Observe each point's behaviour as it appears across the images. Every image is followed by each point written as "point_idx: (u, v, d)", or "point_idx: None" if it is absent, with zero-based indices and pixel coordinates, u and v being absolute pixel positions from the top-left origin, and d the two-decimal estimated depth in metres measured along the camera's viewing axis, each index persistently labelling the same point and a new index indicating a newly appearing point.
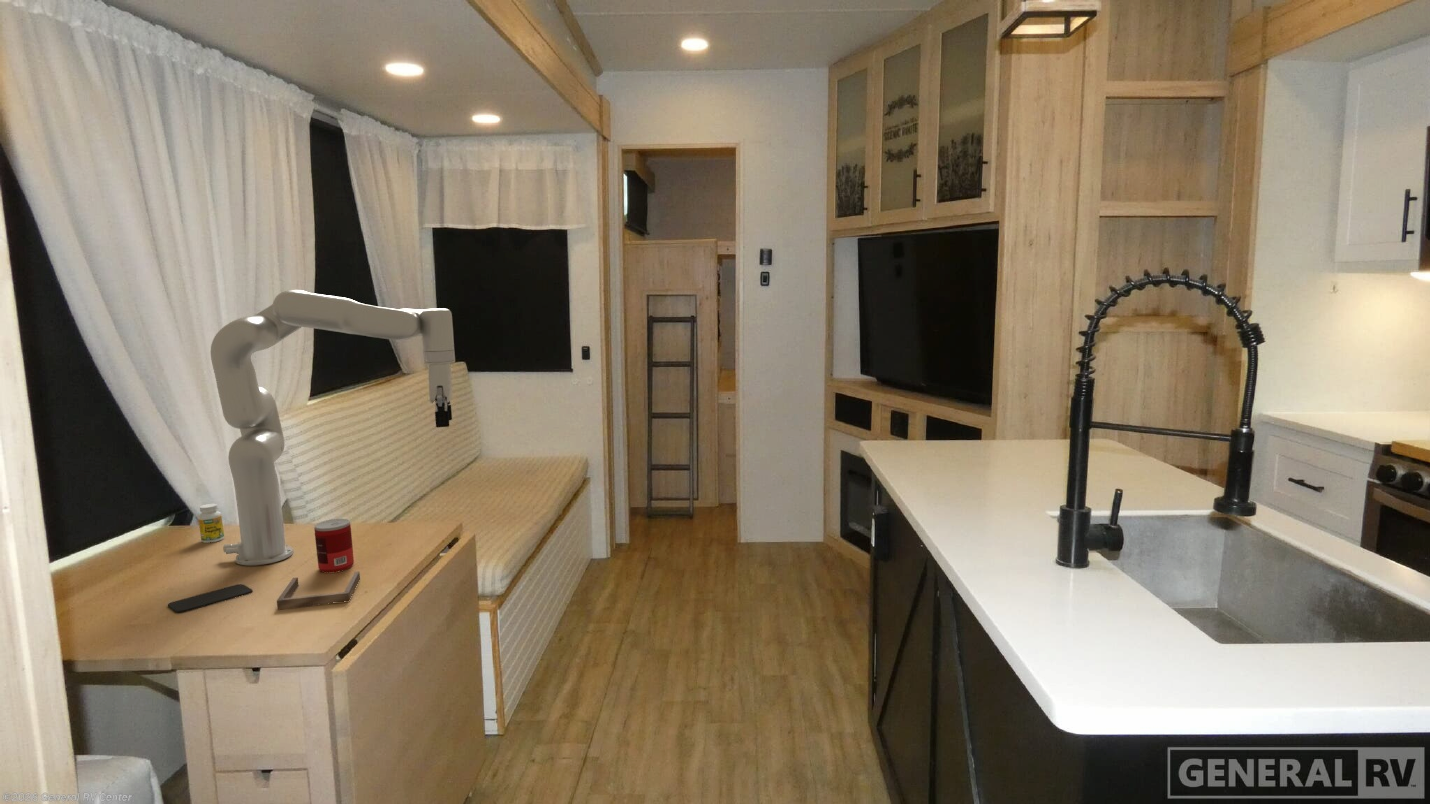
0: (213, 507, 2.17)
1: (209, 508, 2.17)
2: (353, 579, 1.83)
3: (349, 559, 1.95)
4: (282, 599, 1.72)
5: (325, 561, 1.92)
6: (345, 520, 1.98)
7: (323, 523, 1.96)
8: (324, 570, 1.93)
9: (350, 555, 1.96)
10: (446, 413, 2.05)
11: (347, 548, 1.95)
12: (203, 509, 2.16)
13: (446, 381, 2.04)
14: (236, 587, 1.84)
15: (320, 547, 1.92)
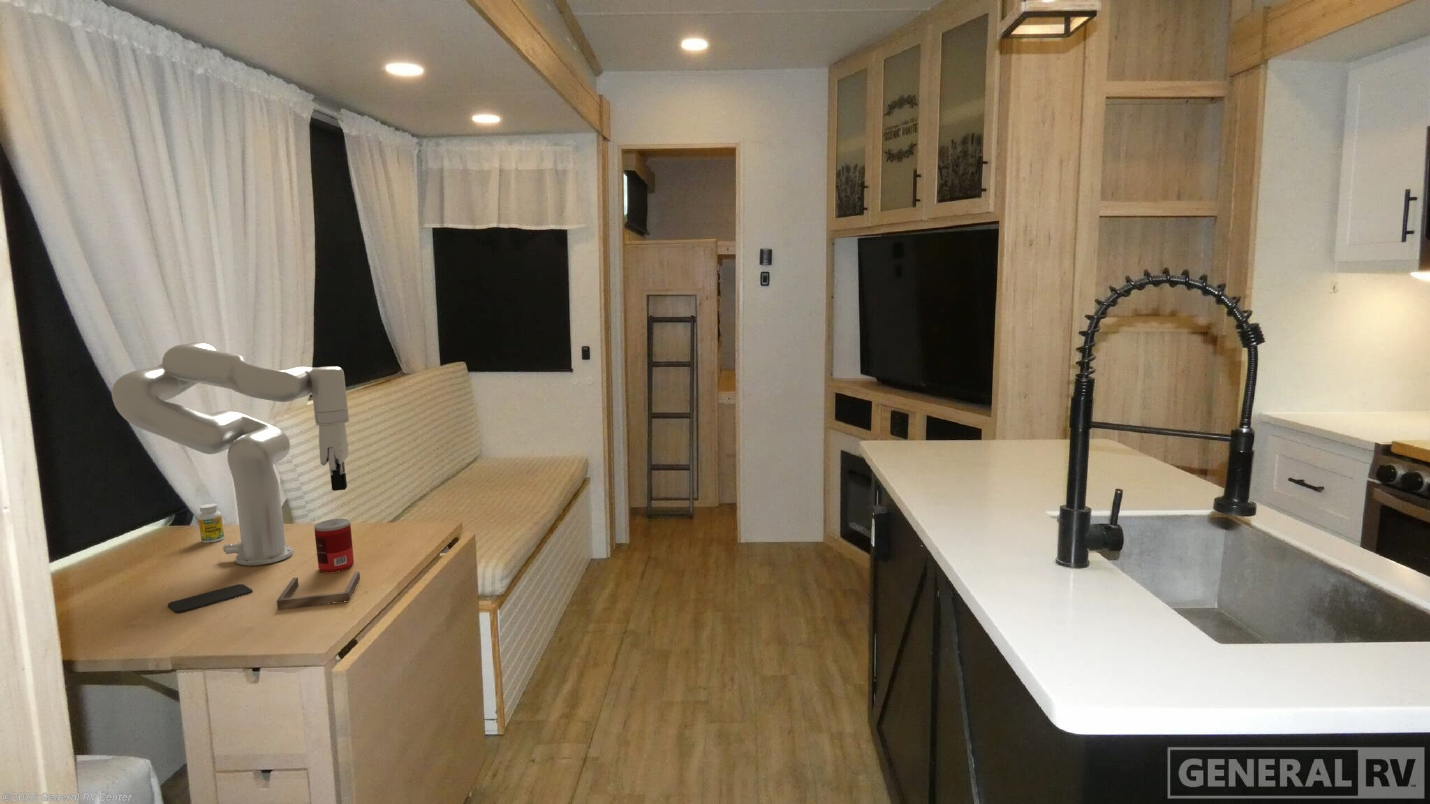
0: (213, 507, 2.17)
1: (209, 508, 2.17)
2: (353, 579, 1.83)
3: (349, 559, 1.95)
4: (282, 599, 1.72)
5: (325, 560, 1.92)
6: (345, 520, 1.98)
7: (323, 523, 1.96)
8: (324, 570, 1.93)
9: (350, 555, 1.96)
10: (342, 476, 2.03)
11: (347, 548, 1.95)
12: (203, 509, 2.16)
13: (337, 442, 1.98)
14: (236, 587, 1.84)
15: (320, 547, 1.92)
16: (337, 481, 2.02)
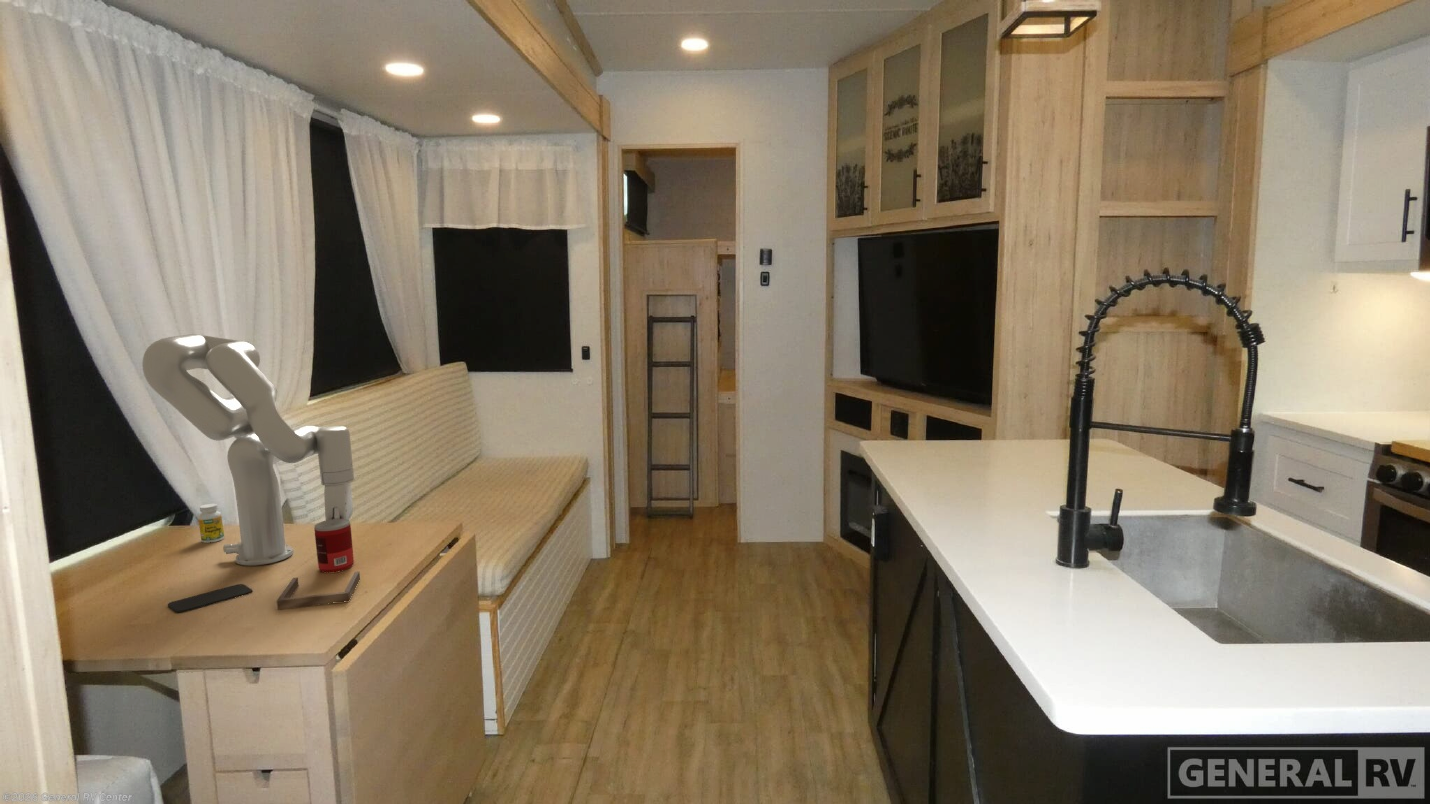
0: (213, 507, 2.17)
1: (209, 508, 2.17)
2: (353, 579, 1.83)
3: (349, 559, 1.95)
4: (282, 599, 1.72)
5: (325, 561, 1.92)
6: (345, 520, 1.98)
7: (323, 523, 1.96)
8: (324, 570, 1.93)
9: (350, 555, 1.96)
10: None
11: (347, 548, 1.95)
12: (203, 509, 2.16)
13: (342, 502, 2.00)
14: (236, 587, 1.84)
15: (320, 547, 1.92)
16: None
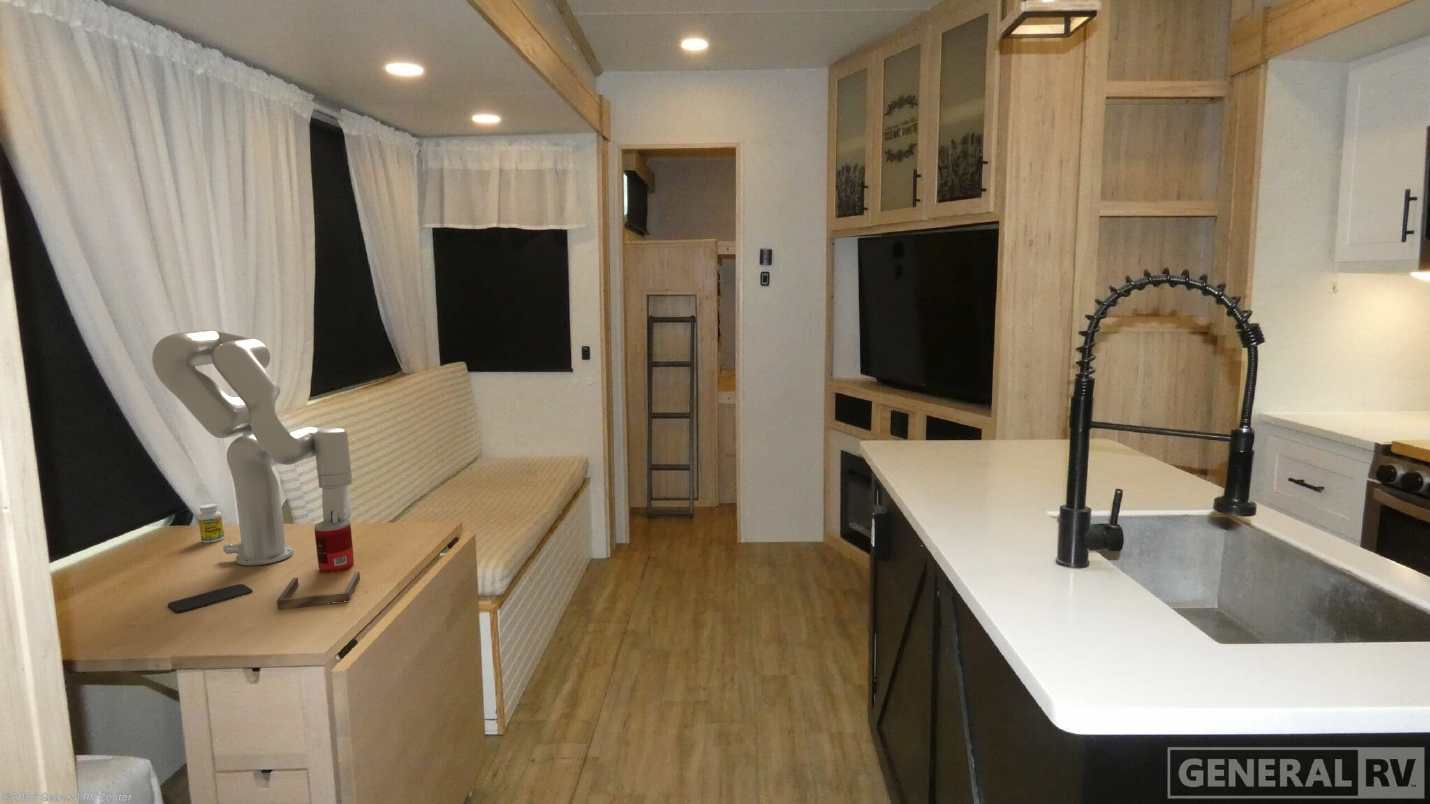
0: (213, 507, 2.17)
1: (209, 508, 2.17)
2: (353, 579, 1.83)
3: (349, 559, 1.95)
4: (282, 599, 1.72)
5: (325, 561, 1.92)
6: (345, 520, 1.97)
7: (323, 523, 1.96)
8: (324, 570, 1.93)
9: (350, 555, 1.96)
10: None
11: (347, 548, 1.95)
12: (203, 509, 2.16)
13: (341, 505, 1.97)
14: (236, 587, 1.84)
15: (320, 547, 1.92)
16: None
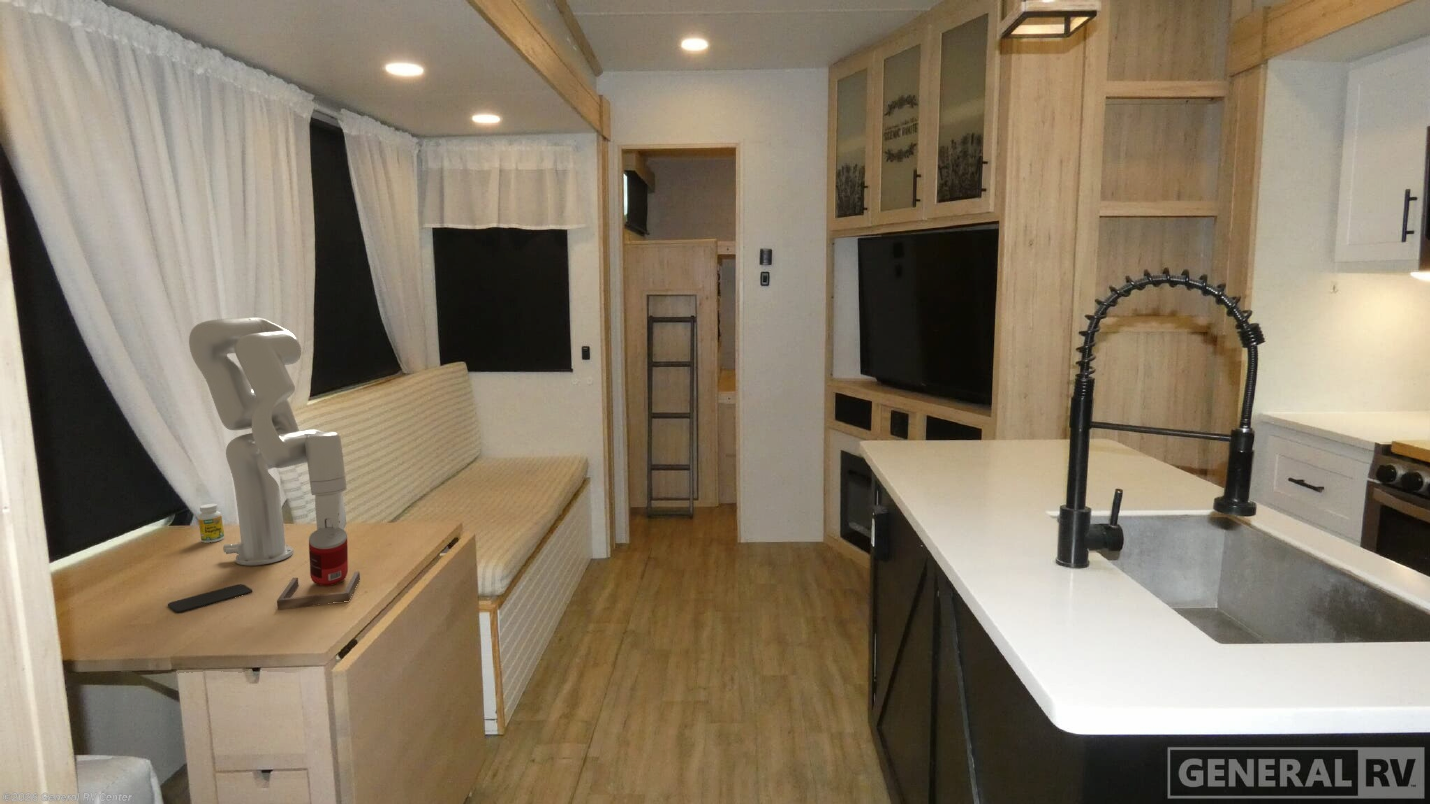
0: (213, 507, 2.17)
1: (209, 508, 2.17)
2: (353, 579, 1.83)
3: (344, 572, 1.86)
4: (282, 599, 1.72)
5: (319, 575, 1.83)
6: (341, 531, 1.86)
7: (318, 533, 1.84)
8: (317, 583, 1.84)
9: (345, 568, 1.86)
10: None
11: (342, 562, 1.85)
12: (203, 509, 2.16)
13: (335, 513, 1.86)
14: (236, 587, 1.84)
15: (314, 561, 1.82)
16: None
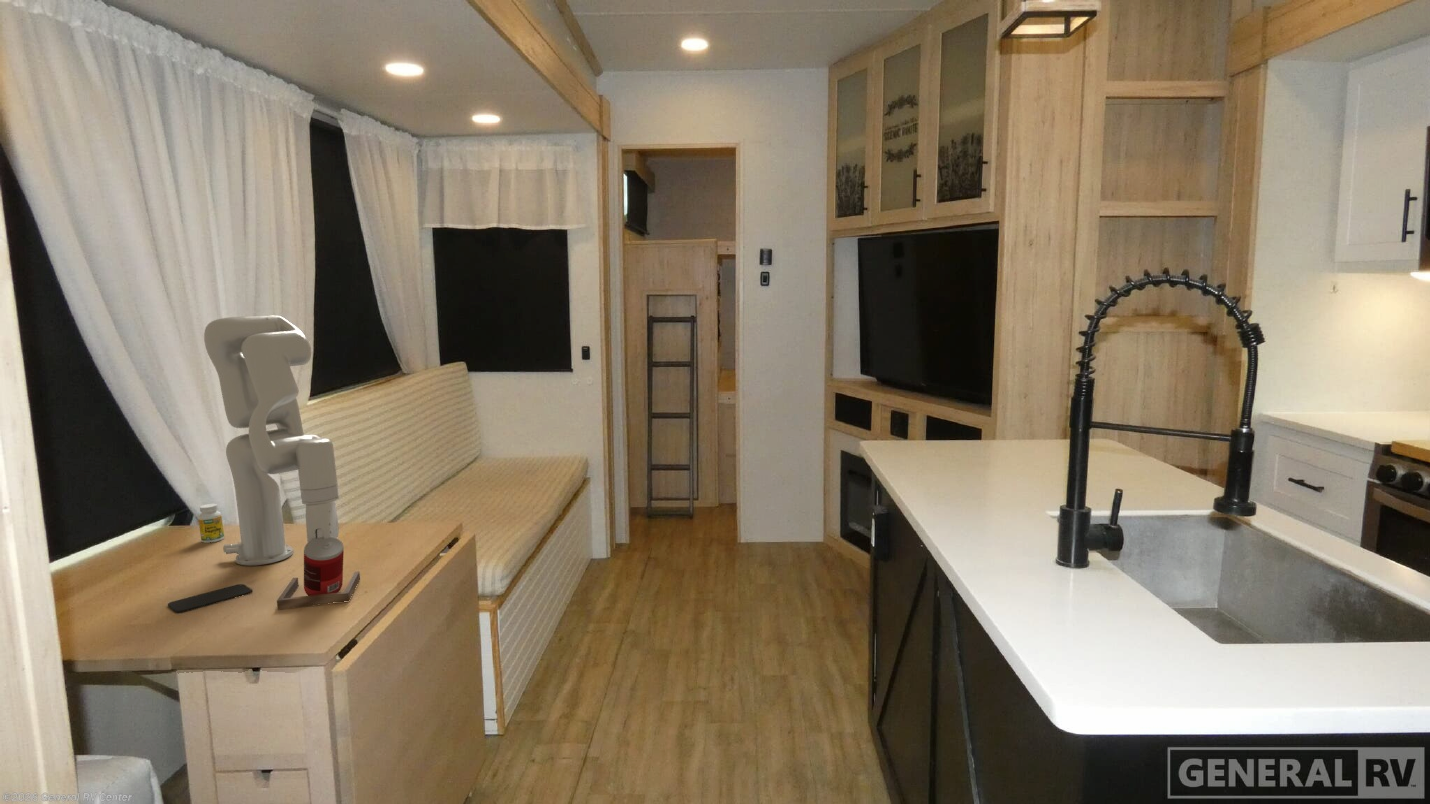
0: (213, 507, 2.17)
1: (209, 508, 2.17)
2: (353, 579, 1.83)
3: (341, 582, 1.80)
4: (282, 599, 1.72)
5: (318, 588, 1.75)
6: (335, 540, 1.79)
7: (311, 545, 1.76)
8: None
9: (342, 578, 1.80)
10: None
11: (340, 572, 1.78)
12: (203, 509, 2.16)
13: (326, 523, 1.79)
14: (236, 587, 1.84)
15: (312, 574, 1.74)
16: None
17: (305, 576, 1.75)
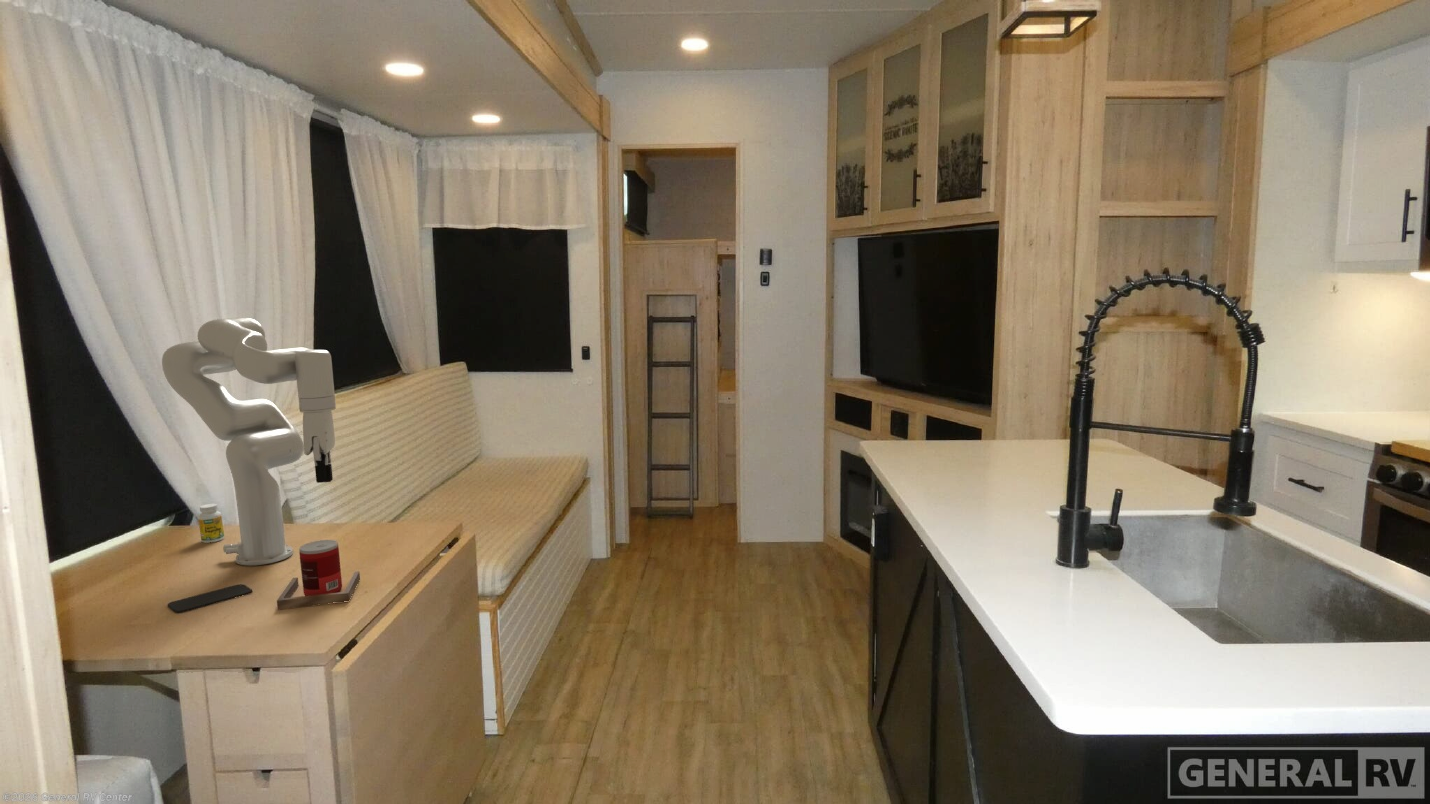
0: (213, 507, 2.17)
1: (209, 508, 2.17)
2: (353, 579, 1.83)
3: (340, 582, 1.80)
4: (282, 599, 1.72)
5: (316, 586, 1.76)
6: (330, 541, 1.82)
7: (306, 546, 1.79)
8: None
9: (340, 578, 1.81)
10: (327, 467, 1.90)
11: (338, 570, 1.80)
12: (203, 509, 2.16)
13: (322, 431, 1.84)
14: (236, 587, 1.84)
15: (309, 571, 1.76)
16: (322, 472, 1.89)
17: (303, 577, 1.77)
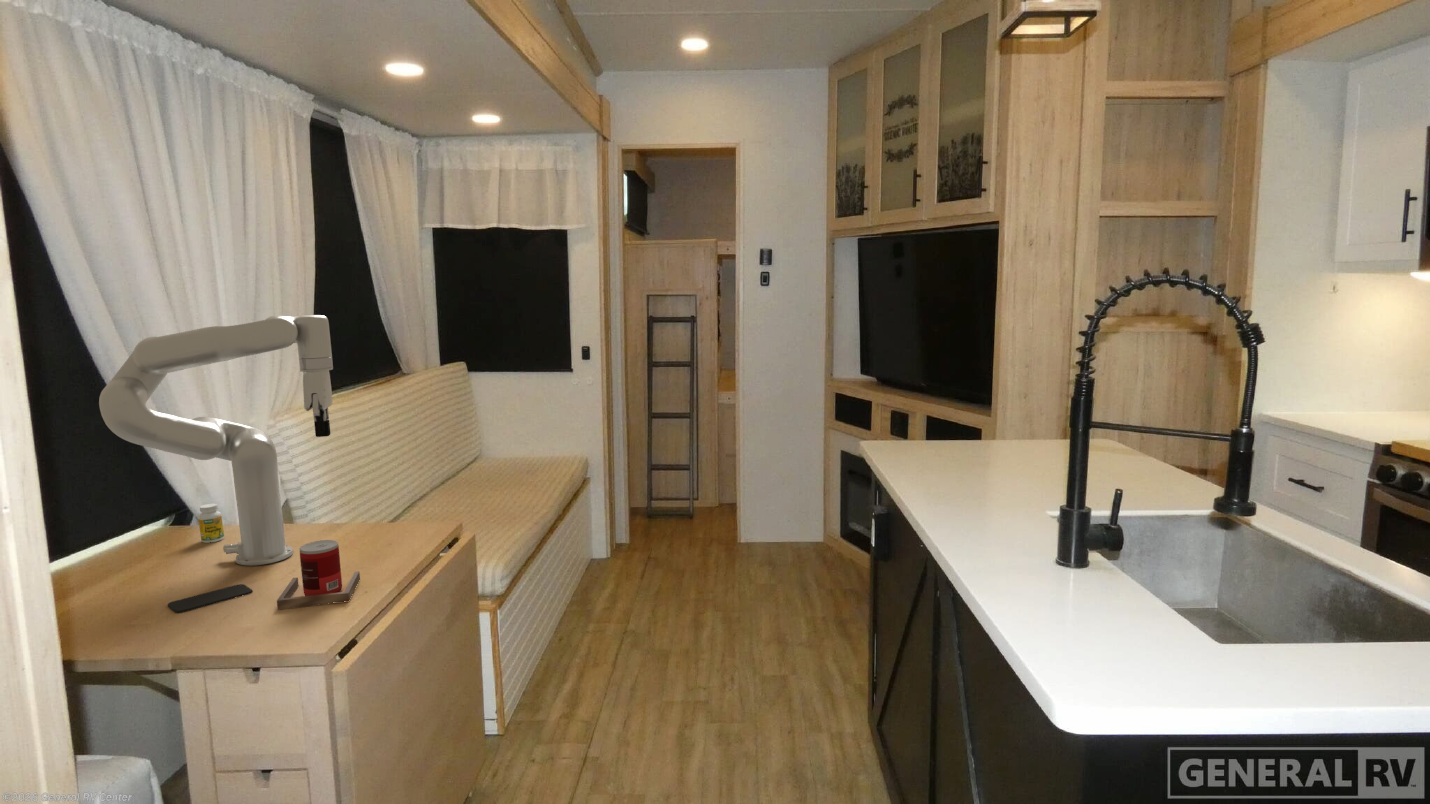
0: (213, 507, 2.17)
1: (209, 508, 2.17)
2: (353, 579, 1.83)
3: (340, 582, 1.80)
4: (282, 599, 1.72)
5: (317, 586, 1.76)
6: (330, 541, 1.82)
7: (306, 546, 1.79)
8: None
9: (340, 578, 1.81)
10: (326, 423, 2.07)
11: (338, 570, 1.80)
12: (203, 509, 2.16)
13: (321, 388, 2.02)
14: (236, 587, 1.84)
15: (310, 572, 1.76)
16: (321, 427, 2.07)
17: (303, 577, 1.77)
